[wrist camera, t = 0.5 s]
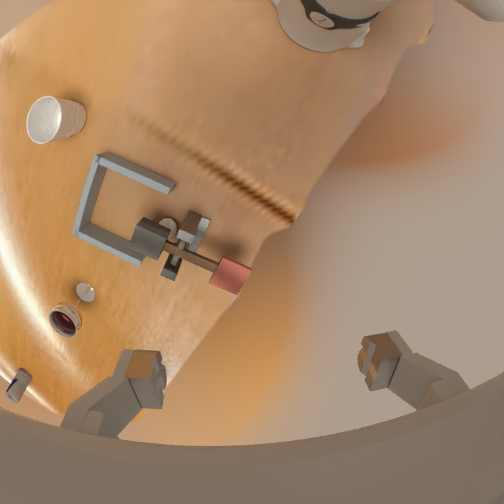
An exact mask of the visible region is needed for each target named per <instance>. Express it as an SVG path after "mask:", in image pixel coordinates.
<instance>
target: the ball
mask: <svg viewBox="0 0 504 504" xmlns="http://www.w3.org/2000/svg"><path fill="white" fill-rule="evenodd" d="M159 224H160V225H162V226H165V227H167V228H169V229H171V232H170V234H169V236H168V238H170V237H172V236H173V235H174V234H175V233H176V231H177V225H176V223H175V221H174V220H172V219H170V218H165V219H162V220H161V221H160V222H159Z"/></svg>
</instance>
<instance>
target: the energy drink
mask: <svg viewBox="0 0 504 504" xmlns="http://www.w3.org/2000/svg"><path fill="white" fill-rule="evenodd" d="M30 381H31V375H30V373H29V372H28V371H27V370H25V369H23V368H20V369H19V371H18V373H17V374H16V376H15V377H14V379H13V381H12V382H11V384H10V386H9V387H8V389H7V391H6V395H7V396H8V398H10V399H11V400H12V401H13V402H16V403H18V402H19V401H20V399H21V397H22V395H23V393H24V391H25V390H26V388H27V386H28V384H29V382H30Z"/></svg>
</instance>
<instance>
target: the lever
mask: <svg viewBox="0 0 504 504" xmlns="http://www.w3.org/2000/svg"><path fill="white" fill-rule="evenodd" d="M170 232H171V229H169V228H167V227H165V226H162V225H160V224H158V223H156V222H154V221H152V220H149V219H147V218H145V217H143V218H142V219H141V220H140V221H139V223H138V224H137V225H136V227H135V230H134V233H133V236H132V239H131V241H130V244H129V248H131V249H133V250H135V251H137V252H139V253H142V254H144V255H146V256H148V257H150V258H153V259H155V260H158V258H159V256H160V254H161V252H162V251H163V250H164V251H166V252H168V253H171V254H173V258H172V260H171V262H170V263H171V264H172V265H176V264H177V262H178V259H179V257H180V258H182V259H184V260H186V261H189V262H191V263H193V264H195V265H198V266H200V267H202V268H205V269H207V270H209V271H211V272H214V273H213V275H212V277H211V279H210V282H209V283H210V284H212V285H214V286H217V287H219V288H222V289H224V290H226V291H229V292H231V293H234V294H236V295H238V293H239V291H240V290H241V288H242V286H243V285H244V283H245V281H246V279H247V278H248V276H249V274H250V273H251V271H252V270H251V268H250V267H247V266H245V265H243V264H241V263H238V262H236V261H234V260H232V259H229V258H227V257H225V256H222V258H221V260H220V262H219V263H217V262H215V261H213V260H211V259H208V258H206V257H204V256H202V255H199V254H197V253H195V252H193V251H190V250H188V249H186V248H185V246H186V244H187V242H186V241H183V240H181V239H179V241H178V243H177V244H175V243H173V242H170V241H168V240H167V239H168V236H169V234H170Z"/></svg>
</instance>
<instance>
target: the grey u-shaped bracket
mask: <svg viewBox="0 0 504 504" xmlns="http://www.w3.org/2000/svg"><path fill="white" fill-rule="evenodd" d="M107 168H108V169H111V170H113V171H115V172H117V173H120V174H122V175H124V176H126V177H129V178H131V179H133V180H135V181H138V182H140V183H142V184H144V185H146V186H149V187H151V188H153V189H155V190H158V191H160V192H162V193H164V194H166V195H168V194H169V193H170V192H171V191H172V190H173V189H174V187H175V184H176V183H175V182H173V181H171V180H169V179H167V178H164V177H162V176H160V175H158V174H155V173H153V172H151V171H149V170H146V169H144V168H142V167H140V166H137V165H135V164H133V163H131V162H128V161H126V160H124V159H121V158H119V157H117V156H114V155H112V154H110V153H108V152H105V153H101V154H96V155H95V156H94V159H93V162H92V165H91V168H90V171H89V174H88V177H87V180H86V183H85V187H84V190H83V193H82V197H81V200H80V204H79V208H78V211H77V215H76V219H75V223H74V228H73V232H72V235H74V236H76V237H78V238H80V239H82V240H84V241H86V242H88V243H90V244H92V245H94V246H96V247H98V248H101V249H103V250H105V251H107V252H109V253H111V254H113V255H115V256H117V257H119V258H121V259H124V260H126V261H128V262H130V263H132V264H134V265H136V266H139V267H140V265H141V263H142V262H143V260H144V258H145V257H146V255H144V254H142V253H139V252H137V251H135V250H133V249H131V248H129V244H130V241H127V240H125V239H123V238H121V237H119V236H117V235H115V234H113V233H110V232H108V231H106V230H104V229H102V228H100V227H98V226H96V225H94V224H92V223H90V219H91V216H92V212H93V209H94V206H95V202H96V199H97V196H98V193H99V189H100V186H101V183H102V180H103V178H104V175H105V172H106V169H107Z"/></svg>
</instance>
